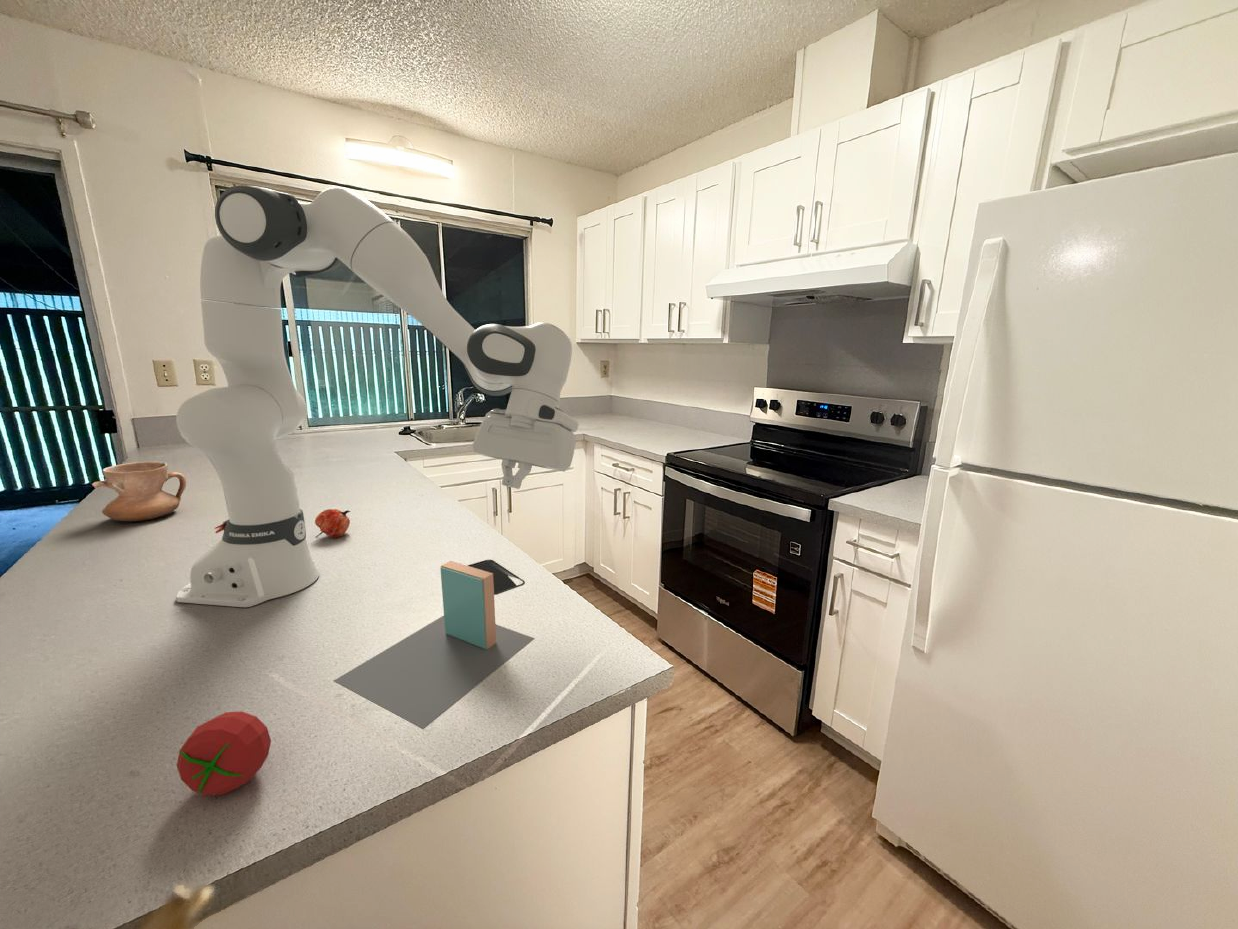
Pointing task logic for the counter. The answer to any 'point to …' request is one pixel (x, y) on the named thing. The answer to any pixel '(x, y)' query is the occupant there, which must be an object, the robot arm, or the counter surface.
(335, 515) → the pomegranate
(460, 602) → the tile
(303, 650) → the counter surface
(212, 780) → the tomato
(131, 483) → the ceramic jug
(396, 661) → the mat
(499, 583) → the phone
